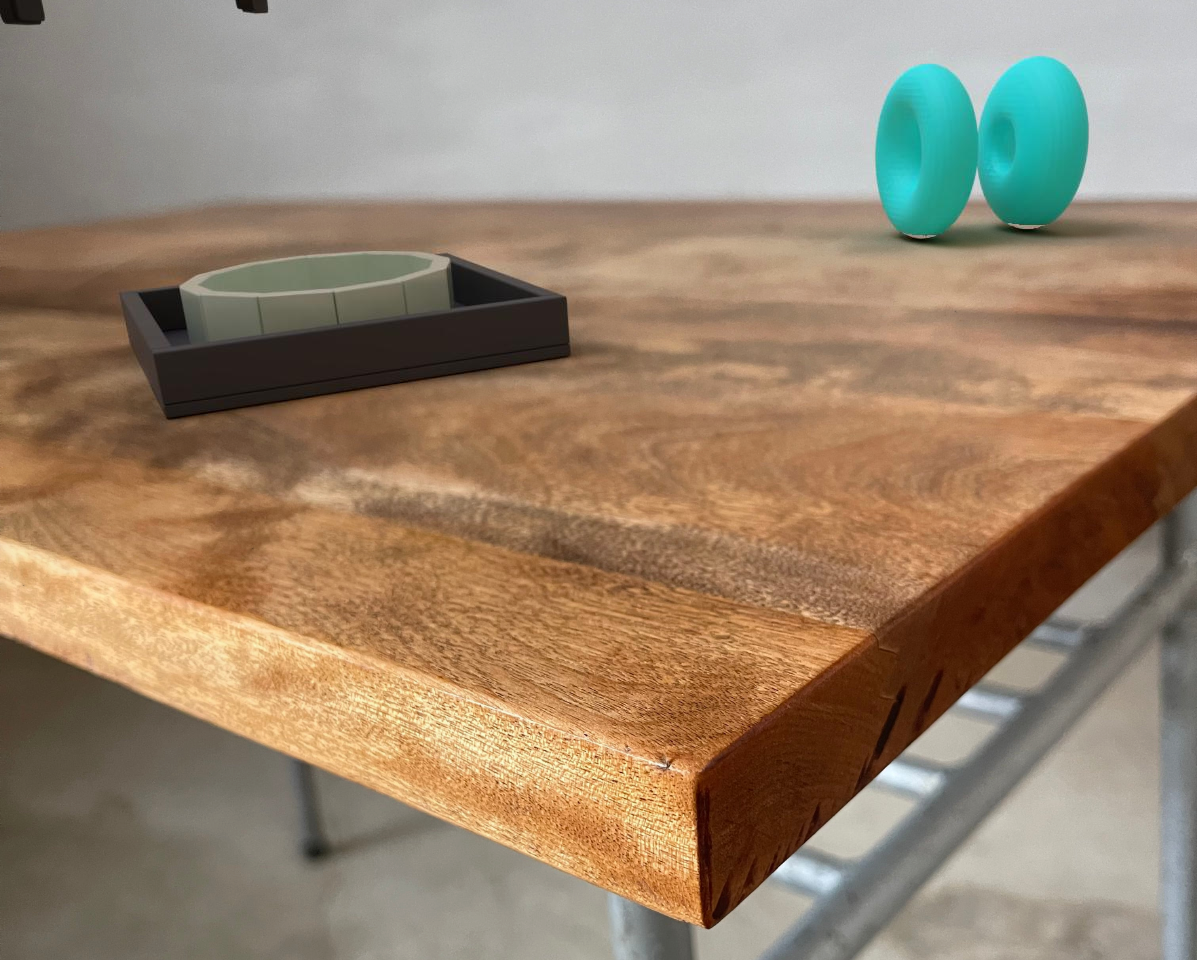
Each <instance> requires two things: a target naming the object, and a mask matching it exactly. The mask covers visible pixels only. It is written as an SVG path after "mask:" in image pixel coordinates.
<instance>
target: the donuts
mask: <svg viewBox="0 0 1197 960" xmlns="http://www.w3.org/2000/svg"><path fill="white" fill-rule="evenodd" d="M1084 95H1085V94H1084V93H1083V90H1082V87H1081V85H1080V83H1079V81H1078V80H1077V78H1076V77H1075V75H1074V73H1073V72H1072V71H1071V70H1070V68H1068V66H1067V65H1065V64H1064V63H1062V61H1059V60H1058V59H1056V58H1054V57H1050V56H1046V55H1033V56H1029V57H1026V58H1023V59H1021V60H1020V61H1018V62H1016V63H1014V64H1012V65H1011V66H1009V68H1008V69H1007V70H1005V72H1003V74H1002V75H1001V76H1000V77H999V78H998V80H997V81H996V82H995V84H994V85H993V87H992V89H991V90H990V92H989V94H988V96H987V98H986V101H985V103H984V106H983V109H982V111H981V116H980V119H979V124H978V123H977V117H976V113H975V108H974V105H973V102H972V99H971V97H970V94H969V93H968V90H967V89H966V87H965V85H964V84H963V83H962V81H961V80H960V79H959V77H958V76H957V75H955V73H953V72H952V71H951V70H949V69H948V68H947V67H944V66H942V65H940V64H936V63H921V64H917V65H914V66H912V67H910V68H909V69H907V70H906V71H904V72H903V73H901V74H900V76H899V77H898V78H897V79H896V80H895V81H894V83H893V84H892V86H891V87H890V89H889V90H888V92H887V95H886V96H885V99H884V102H883V104H882V108H881V110H880V114H879V117H878V118H879V119H878V123H877V128H876V129H877V130H876V135H875V136H876V137H875V146H874V147H875V148H874V151H875V152H874V163H875V177H876V184H877V189H878V194H879V198H880V202H881V204H882V207H883V210H884V213H885V214H886V216H887V218H888V221H889V222H890V223H891V224H892V226H893V227H894V228H895V229H896V230H897V231H898V232H899V231H900V233H901V232H903V233H906V234H912V235H923V236H924V235H925V236H927V235H938V234H940V235H941V234H944V232H946V231H948V230H949V229H950V228H951V227H952V226H953V225H954V224H955V222H956V221H957V220H959V217H960V216H961V215H962V213H963V211H964V210H965V208H966V205H967V204H968V202H969V199H970V196H971V195H972V191H973V187H974V184H975V180H976V175H978V180H979V185H980V188H981V191H982V194H983V197H984V199H985V201H986V203H987V204H988V206H989V208H990V209H991V210H992V212H993V213H994V215H995V216H996V217H997V218H998V219H999V220H1001V222H1003V223H1004V222H1006V223H1012V224H1019V225H1046V224H1048V225H1050V224H1052V223H1053V222H1054V221H1056V220H1057V219H1058V218H1060V217H1061V216H1062V215H1063V213H1064V212H1065V211H1066V210H1067V209H1068V207H1069V206H1070V204H1071V203H1072V201H1073V199H1074V198H1075V196H1076V194H1077V192H1078V190H1079V187H1080V185H1081V182H1082V179H1083V176H1084V173H1085V168H1086V165H1087V164H1086V163H1087V159H1088V151H1089V139H1090V138H1089V137H1090V124H1089V123H1090V122H1089V114H1088V108H1087V103H1086V99H1085V96H1084ZM1006 223H1005V224H1006ZM1046 226H1047V225H1046ZM938 236H939V235H938Z"/></svg>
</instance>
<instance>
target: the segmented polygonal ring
mask: <svg viewBox="0 0 1197 960" xmlns="http://www.w3.org/2000/svg"><path fill="white" fill-rule="evenodd" d="M179 285H180V286H179V288H180V293H181V299H182V304H183V309H184V314H185V319H186V325H187V330H188V335H189V340H190V344H197V343H204V342H212V341H219V340H226V339H233V338H241V337H248V336H255V335H263V334H270V333H277V332H285V331H292V330H299V329H307V328H314V327H321V326H329V325H336V324H343V323H350V322H358V321H365V320H372V319H380V318H387V317H394V316H402V315H409V314H416V313H424V312H431V311H438V310H446V309H453V308H455V302H454V292H453V283H452V273H451V264H450V259H449V258H448V257H443V256H438V255H434V254H433V253H429V252H424V251H399V250H398V251H397V250H396V251H393V250H368V251H367V250H364V251H363V250H362V251H347V252H334V253H331V252H330V253H320V254H319V253H317V254H307V255H304V254H303V255H297V256H288V257H283V258H282V257H281V258H275V259H268V260H260V261H252V262H245V263H240V264H237V265H233V266H228V267H224V268H220V269H216V270H212V271H208V272H204V273H199V274H195V276H193V277H190V279H188V280H187V281H185V282H184V283H182V284H179Z"/></svg>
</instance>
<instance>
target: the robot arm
mask: <svg viewBox="0 0 1197 960" xmlns="http://www.w3.org/2000/svg"><path fill="white" fill-rule="evenodd" d="M234 1H235V5H236V8H237V9H238V10H241V11H242V13H247V14H255V15H256V14H257V15H258V14H259V15H260V14H268V13H269V5H268V3H269V2H268V0H234ZM0 18H1V21H2V22H3V24H4V25H13V26H14V25H15V26H16V25H17V26H39V25H40V26H41V25H42V22H45V21H46V15H45V10H44V5H43V0H0Z"/></svg>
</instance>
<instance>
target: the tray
mask: <svg viewBox="0 0 1197 960" xmlns="http://www.w3.org/2000/svg"><path fill="white" fill-rule="evenodd" d="M434 255H438V256H443V257H448V258H449V259H450V264H451V273H452V283H453V292H454V302H455V308H453V309H446V310H438V311H431V312H424V313H416V314H409V315H402V316H394V317H387V318H380V319H372V320H365V321H358V322H350V323H343V324H336V325H329V326H321V327H314V328H307V329H299V330H292V331H285V332H277V333H270V334H263V335H255V336H248V337H241V338H233V339H226V340H219V341H212V342H204V343H197V344H190V340H189V335H188V330H187V325H186V319H185V314H184V309H183V304H182V299H181V293H180V288H179V286H180V285H181V284H176V285H168V286H161V287H151V288H144V289H135V290H127V291H119V294H118V295H119V299H120V302H121V303H120V304H121V309H122V313H123V318H124V323H125V327H126V331H127V332H126V333H127V336H128V342H129V344H130V347H131V348H132V351H133V352H134V355H135V358H136V359H137V361H138V363H139V365H140V367H141V370H142V371H143V373H144V375H145V378H146V380H147V381H148V384H149V385H150V388H151V390H152V392H153V394H154V396H155V398H156V401H157V402H158V404H159V406H160V408H161V410H162V412H163V415H164V417H165V418H166V419H174V418H180V417H185V416H191V415H192V416H193V415H199V414H206V413H212V412H219V411H225V410H230V409H236V408H244V407H249V406H257V405H263V404H270V403H274V402H275V403H276V402H282V401H288V400H289V401H290V400H294V399H295V400H296V399H301V398H302V399H303V398H308V397H314V396H321V395H326V394H333V393H339V392H345V391H353V390H359V389H365V388H366V389H367V388H372V387H377V386H385V385H391V384H398V383H403V382H409V381H418V380H423V379H430V378H437V377H442V376H449V375H455V374H461V373H468V372H475V371H480V370H488V369H493V368H501V367H506V366H513V365H518V364H520V365H521V364H524V363H532V362H538V361H543V360H544V361H545V360H550V359H558V358H565V357H570V356H571V355H572V352H571V350H572V349H571V344H570V343H571V340H570V323H569V310H568V297H567V296H566V295H564V294H560V293H558V292H555V291H552V290H549V289H548V288H547V289H546V288H544V287H541V286H538V285H535V284H533V283H530V282H528V281H525V280H522V279H519V278H517V277H514V276H511V275H508V274H506V273H502V272H500V271H497V270H494V269H492V268H489V267H487V266H483V265H481V264H478V263H475V262H472V261H469V260H467V259H464V258H461V257H459V256H456V255H453V254H451V253H448V252H443V253H435V254H434Z"/></svg>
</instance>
